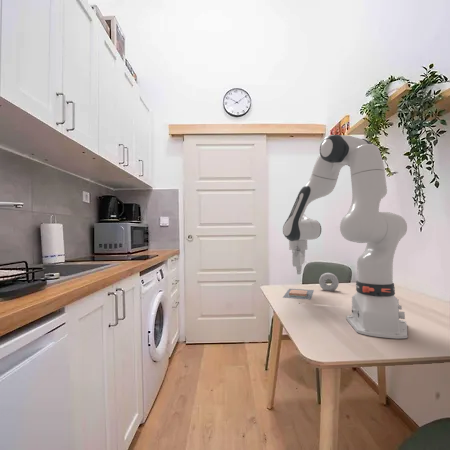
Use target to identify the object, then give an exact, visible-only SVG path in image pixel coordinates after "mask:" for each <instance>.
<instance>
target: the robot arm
mask: <svg viewBox="0 0 450 450" xmlns="http://www.w3.org/2000/svg"><path fill="white" fill-rule="evenodd" d="M383 160H384V159H383V157H382V154H381V151H380V149H379V147H378V146H377V145H376V144H373V143H372V142H371V141H369V140H368V139H365V138H360V137H356V136H351V135H341V134H331V135H327V136H326V137H324V138H323V140H321V143H320V146H319V155H318V157H317V159H316V161H315V164H314V166H313V169H312V172H311V175H310V178H309V180H308V181H307V183H306V184H305V185H304V186H303V187H302V188H301V189H300V190H299V192H298V194H297V197H296V199H295V201H294V204H293V206H292V208H291V211H290V213H289V215H288V217H287V219H286V220H285V222H284V224H283V226H282V234H283V235H284V237H285V238H286V239H287V240H288V247H289V248H288V249H289V250H290V251H291V253H292V256H291V257H292V260H291V261H292V266H293V267H295V269H296V274H297V275H301V274H302V265H304V264H305V259H306V258H305V257H306V251H307V250H308V240H309V241H310V240H316V239H317V240H318V238H319V237H320V236H321V234H322V225H321V223H320V222H319V221H318V220H317V219H313V218H309V217H308V216H306V214H305V212H306V209H307V208H308V206H309V205H310V204H311V203H312V202H313V201H316V200H318V199H320V198H323V197H326V196H328V195H330V194H331V193H332V192H333V191H334V189H335V187H336V185H337V182H338V179H339V175H340V173H341V170H342V168H343V167H345V166H348V167H349V169H350V182H351V192H352V194H351V195H352V196H351V197H352V198H351V204H350V208H349V210H348V211H347V213H346V214H345V215H344V216H343V217H342V219H341V220H340V224H339V231H340V234H341V236H342V237H343V238H344V239H345V240H347V241H349V242H353V243H358V244H366V245H365V246H366V247H365V249H364V250H363V253H361V255H359V257H358V258H357V261H356V265H357V266H356V271H357V272H356V273H357V274H356V275H357V280H356V281H355V283H356V284H355V291H356V293H355V294H353V295H352V296H351V315H346V320H347V322H348V323H349V325H351V327H352V328H353V329H354V330H355V332H356V333H357V334H361V335H365V336H370V337H377V338H386V339H397V340H398V339H399V340H400V339H408V337H409V336H408V323H407V321H404V320H405V319H406V314H405V311H402V310H403V309H402V308H403V307H402V304H401V305H399V304H400V303H399V299H398V298H397V297H396V296H395V294H396V292H395V291H396V287H395V283H394V281H393V279H394V277H393V275H394V272H393V269H394V268H393V265H394V257H395V253H396V250H397V247H398V245H399V243H400V241H401V240H402V238H404V236H405V235H406V233H407V230H408V223H407V221H406V220H405V218H404V217H403V216H401V215H399V214H396V213H393V212H388V211H380V203H381V201H382V199H383V198H385V196H386V195H387V194H388V189H387V187H388V186H387V179H386V170H385V166H384V161H383Z"/></svg>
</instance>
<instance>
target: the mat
mask: <svg viewBox="0 0 450 450" xmlns="http://www.w3.org/2000/svg"><path fill="white" fill-rule="evenodd" d="M291 290H304V291H307V296H306V297H296V296H289V292H290V291H291ZM314 291H315V290H314V289H302V288H288V289H287V291H286V292H285V293H284V295H283V296H282V298H283V299H295V300H296V299H297V300H309V301H311V300H312V298H313V294H314Z"/></svg>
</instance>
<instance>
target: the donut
mask: <svg viewBox="0 0 450 450" xmlns="http://www.w3.org/2000/svg"><path fill="white" fill-rule="evenodd" d="M327 280H330V281H331V284H328V283H327ZM318 284H319V286H320V288H321V289H322V290H323V291H327V292H333V291H336V290H337V288H338V287H339V284H340V283H339V279H338V276H336V275H335V274H334V273H332V272H324V273H322V274H321V275H320V277H319V280H318Z"/></svg>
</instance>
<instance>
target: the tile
mask: <svg viewBox="0 0 450 450" xmlns="http://www.w3.org/2000/svg"><path fill="white" fill-rule="evenodd" d="M304 290H305V289H304ZM304 290H291V291H290V292H289V296H296V297H306V296H307V291H304Z"/></svg>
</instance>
